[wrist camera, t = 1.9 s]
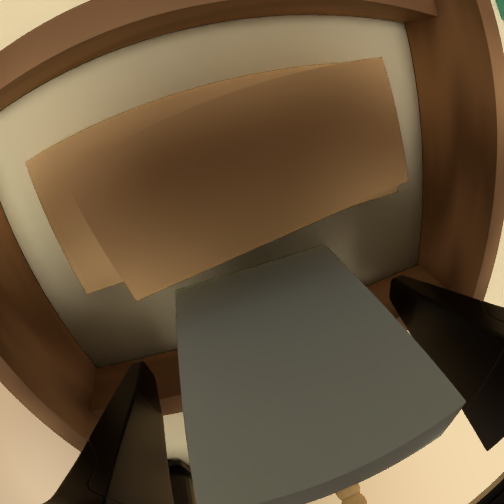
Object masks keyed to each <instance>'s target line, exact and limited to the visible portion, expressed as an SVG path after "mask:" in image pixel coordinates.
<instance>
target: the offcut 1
mask: <svg viewBox="0 0 504 504" xmlns="http://www.w3.org/2000/svg"><path fill="white" fill-rule="evenodd" d="M334 64H340V63H331V64H319V65H309V66H300V67H293V68H286V69H279V70H273V71H267V72H261V73H256V74H251V75H246V76H241V77H236V78H232V79H227V80H223V81H219V82H215V83H211V84H207V85H203V86H200V87H196V88H193V89H189V90H186V91H183V92H179V93H176V94H173V95H170V96H167V97H164V98H161V99H158V100H155V101H152V102H149V103H147V104H144V105H141V106H138V107H136V108H133V109H131V110H128V111H126V112H123V113H121V114H118V115H116V116H114V117H111V118H109V119H107V120H104V121H102V122H100V123H98V124H95V125H93V126H91V127H89V128H87V129H85V130H83V131H81V132H79V133H77V134H75V135H73V136H71V137H69V138H67V139H65V140H63V141H61V142H59V143H57V144H55V145H54V146H52V147H50V148H48V149H47V150H45V151H43V152H41V153H40V154H38V155H36V156H34V157H33V158H31V159H30V160H28V161H26V162H25V163H26V166H27V169H28V172H29V175H30V177H31V180H32V183H33V185H34V188H35V190H36V193H37V195H38V198H39V200H40V203H41V205H42V207H43V210H44V212H45V214H46V217H47V219H48V221H49V223H50V226H51V228H52V230H53V232H54V234H55V236H56V238H57V240H58V242H59V244H60V246H61V248H62V250H63V252H64V254H65V256H66V258H67V260H68V262H69V264H70V265H71V267H72V269H73V271H74V273H75V275H76V276H77V278H78V280H79V282H80V283H81V285H82V287H83V289H84V290H85V292H86V294H90V293H92V292H95V291H98V290H101V289H104V288H107V287H110V286H112V285H115V284H118V283H121V282H123V280H122V279H121V277H120V276H119V274H118V273H117V271H116V270H115V268H114V266H113V265H112V263H111V262H110V260H109V259H108V257H107V255H106V254H105V252H104V250H103V249H102V247H101V246H100V244H99V242H98V241H97V239H96V237H95V235H94V234H93V232H92V230H91V229H90V227H89V225H88V223H87V222H86V220H85V218H84V216H83V214H82V213H81V211H80V209H79V207H78V205H77V203H76V201H75V200H74V198H73V196H72V194H71V192H70V190H69V188H68V186H67V184H66V182H65V180H64V178H63V175H65V174H66V173H68V172H69V171H71V170H72V169H74V168H76V167H77V166H79V165H80V164H82V163H84V162H85V161H87V160H89V159H90V158H92V157H94V156H95V155H97V154H99V153H100V152H102V151H104V150H106V149H107V148H109V147H111V146H113V145H115V144H116V143H118V142H120V141H122V140H124V139H126V138H128V137H129V136H131V135H133V134H135V133H137V132H139V131H141V130H143V129H145V128H147V127H149V126H151V125H153V124H156V123H158V122H160V121H162V120H164V119H166V118H169V117H171V116H173V115H175V114H178V113H180V112H182V111H185V110H187V109H189V108H192V107H194V106H197V105H199V104H202V103H204V102H207V101H209V100H212V99H215V98H217V97H220V96H223V95H226V94H228V93H231V92H234V91H237V90H240V89H243V88H246V87H249V86H252V85H255V84H259V83H262V82H265V81H269V80H272V79H276V78H279V77H283V76H286V75H290V74H294V73H298V72H302V71H306V70H311V69H315V68H320V67H324V66H329V65H334ZM396 192H398V186H396V187H394V188H391V189H389V190H387V191H385V192H382V193H380V194H378V195H376V196H373V197H371V198H369V199H366V200H364V201H362V202H360V203H357V204H361V203H364V202H367V201H370V200H373V199H377V198H380V197H383V196H386V195H390V194H393V193H396ZM357 204H355V205H357ZM353 206H354V205H353Z"/></svg>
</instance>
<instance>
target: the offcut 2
mask: <svg viewBox="0 0 504 504" xmlns="http://www.w3.org/2000/svg"><path fill="white" fill-rule="evenodd" d="M63 178H64V180H65V182H66V184H67V186H68V188H69V190H70V192H71V194H72V196H73V198H74V200H75V201H76V203H77V205H78V207H79V209H80V211H81V213H82V214H83V216H84V218H85V220H86V222H87V223H88V225H89V227H90V229H91V230H92V232H93V234H94V235H95V237H96V239H97V241H98V242H99V244H100V246H101V247H102V249H103V250H104V252H105V254H106V255H107V257H108V259H109V260H110V262H111V263H112V265H113V266H114V268H115V270H116V271H117V273H118V274H119V276H120V277H121V279H122V280H123V282H124V283H125V285H126V286H127V288H128V289H129V291H130V292H131V293H132V295H133V296H134V298H135V299H136V301H138V300H140V299H143V298H145V297H147V296H149V295H152V294H154V293H156V292H158V291H161V290H163V289H165V288H167V287H170V286H172V285H174V284H176V283H179V282H181V281H183V280H185V279H188V278H190V277H192V276H194V275H197V274H199V273H201V272H203V271H206V270H208V269H210V268H212V267H215V266H217V265H219V264H221V263H224V262H226V261H228V260H231V259H233V258H235V257H237V256H240V255H242V254H244V253H246V252H249V251H251V250H253V249H255V248H258V247H260V246H262V245H264V244H267V243H269V242H271V241H273V240H276V239H278V238H280V237H283V236H285V235H287V234H289V233H292V232H294V231H296V230H298V229H301V228H303V227H305V226H307V225H310V224H312V223H314V222H317V221H319V220H321V219H323V218H326V217H328V216H330V215H332V214H335V213H337V212H339V211H341V210H344V209H346V208H348V207H351V206H353V205H355V204H357V203H360V202H362V201H364V200H366V199H369V198H371V197H373V196H376V195H378V194H380V193H382V192H385V191H387V190H389V189H391V188H394V187H396V186H398V185H401V184H403V183H405V182H407V181H408V175H407V168H406V161H405V154H404V148H403V142H402V137H401V132H400V127H399V122H398V117H397V112H396V108H395V104H394V100H393V95H392V91H391V88H390V84H389V80H388V77H387V73H386V70H385V66H384V63H383V60H382V57H378V58H371V59H364V60H357V61H351V62H345V63H340V64H334V65H329V66H324V67H320V68H315V69H311V70H306V71H302V72H298V73H294V74H290V75H286V76H283V77H279V78H276V79H272V80H269V81H265V82H262V83H259V84H255V85H252V86H249V87H246V88H243V89H240V90H237V91H234V92H231V93H228V94H226V95H223V96H220V97H217V98H215V99H212V100H209V101H207V102H204V103H202V104H199V105H197V106H194V107H192V108H189V109H187V110H185V111H182V112H180V113H178V114H175V115H173V116H171V117H169V118H166V119H164V120H162V121H160V122H158V123H156V124H153V125H151V126H149V127H147V128H145V129H143V130H141V131H139V132H137V133H135V134H133V135H131V136H129V137H128V138H126V139H124V140H122V141H120V142H118V143H116V144H115V145H113V146H111V147H109V148H107V149H106V150H104V151H102V152H100V153H99V154H97V155H95V156H94V157H92V158H90V159H89V160H87V161H85V162H84V163H82V164H80V165H79V166H77V167H76V168H74V169H72V170H71V171H69V172H68V173H66V174H65V175H63Z"/></svg>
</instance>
